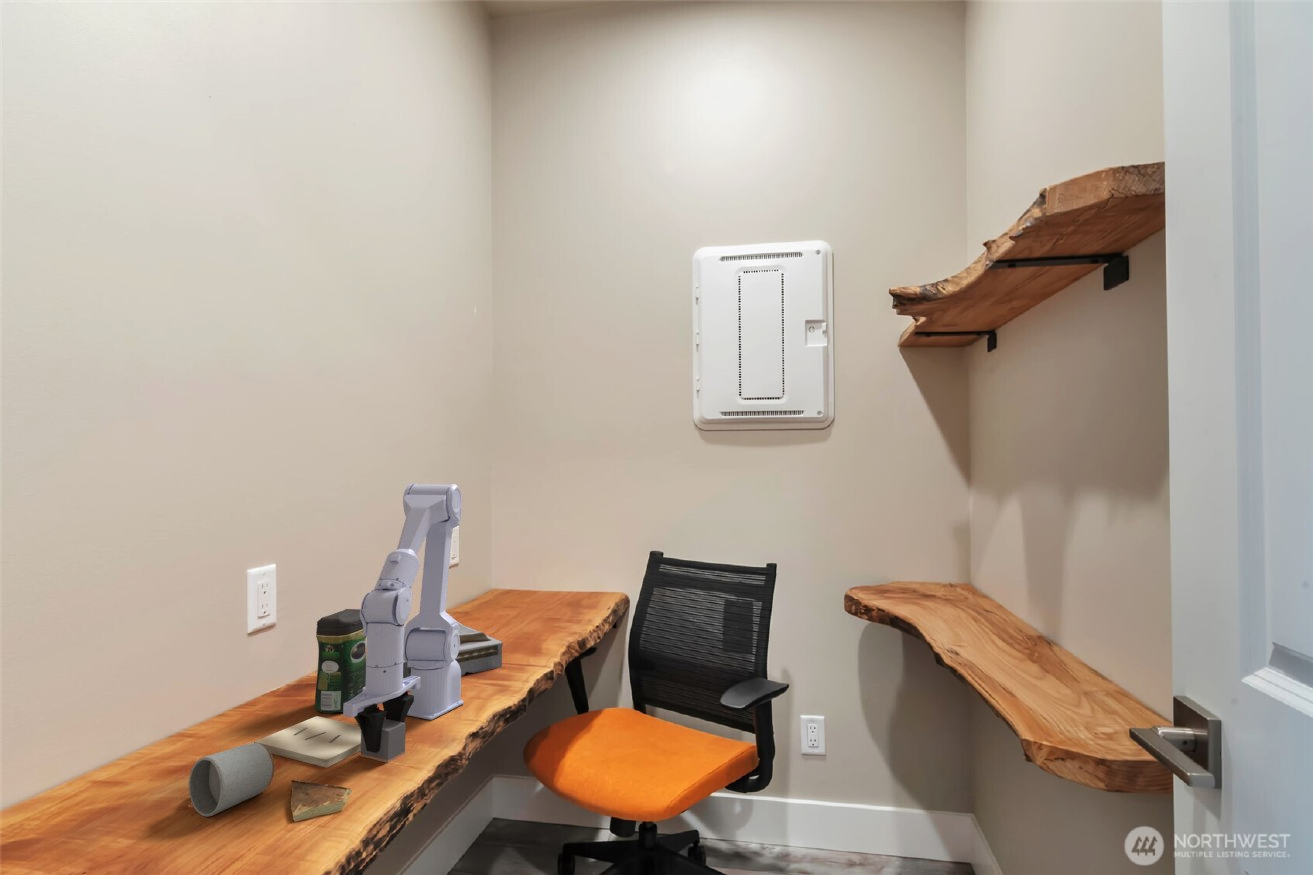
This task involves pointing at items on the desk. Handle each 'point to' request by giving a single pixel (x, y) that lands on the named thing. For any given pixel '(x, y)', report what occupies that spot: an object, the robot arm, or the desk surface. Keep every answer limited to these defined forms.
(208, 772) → the ceramic mug
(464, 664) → the bible
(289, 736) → the cream flat board
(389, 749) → the block
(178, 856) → the desk surface
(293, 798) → the shard
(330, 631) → the coffee jar
